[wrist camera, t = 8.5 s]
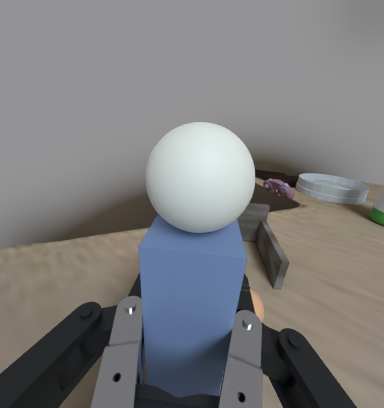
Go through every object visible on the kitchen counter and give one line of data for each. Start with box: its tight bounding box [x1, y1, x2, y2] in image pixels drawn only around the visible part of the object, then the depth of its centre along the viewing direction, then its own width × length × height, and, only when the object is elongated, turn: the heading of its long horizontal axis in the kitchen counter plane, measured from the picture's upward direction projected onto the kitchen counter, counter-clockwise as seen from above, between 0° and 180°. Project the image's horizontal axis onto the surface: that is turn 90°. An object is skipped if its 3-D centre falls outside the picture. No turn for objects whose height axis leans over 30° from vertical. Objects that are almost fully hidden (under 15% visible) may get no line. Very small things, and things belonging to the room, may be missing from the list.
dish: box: [296, 173, 369, 204], centre depth 72 cm, size 22×22×5 cm
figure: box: [139, 122, 255, 398], centre depth 11 cm, size 4×4×20 cm
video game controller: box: [263, 179, 294, 199], centre depth 65 cm, size 10×5×7 cm, turn 32°
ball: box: [250, 288, 264, 322], centre depth 22 cm, size 5×5×5 cm
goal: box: [237, 203, 289, 290], centre depth 33 cm, size 13×14×8 cm
